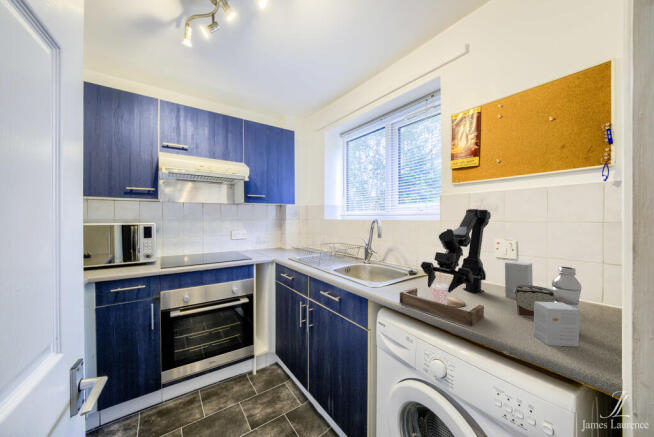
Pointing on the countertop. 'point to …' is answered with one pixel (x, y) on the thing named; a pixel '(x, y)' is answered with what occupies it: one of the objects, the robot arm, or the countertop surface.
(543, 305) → the small box
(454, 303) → the cork coaster
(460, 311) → the walnut bay
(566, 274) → the plastic bottle
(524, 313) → the food container
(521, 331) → the countertop surface
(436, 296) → the beverage cup
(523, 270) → the skincare box
